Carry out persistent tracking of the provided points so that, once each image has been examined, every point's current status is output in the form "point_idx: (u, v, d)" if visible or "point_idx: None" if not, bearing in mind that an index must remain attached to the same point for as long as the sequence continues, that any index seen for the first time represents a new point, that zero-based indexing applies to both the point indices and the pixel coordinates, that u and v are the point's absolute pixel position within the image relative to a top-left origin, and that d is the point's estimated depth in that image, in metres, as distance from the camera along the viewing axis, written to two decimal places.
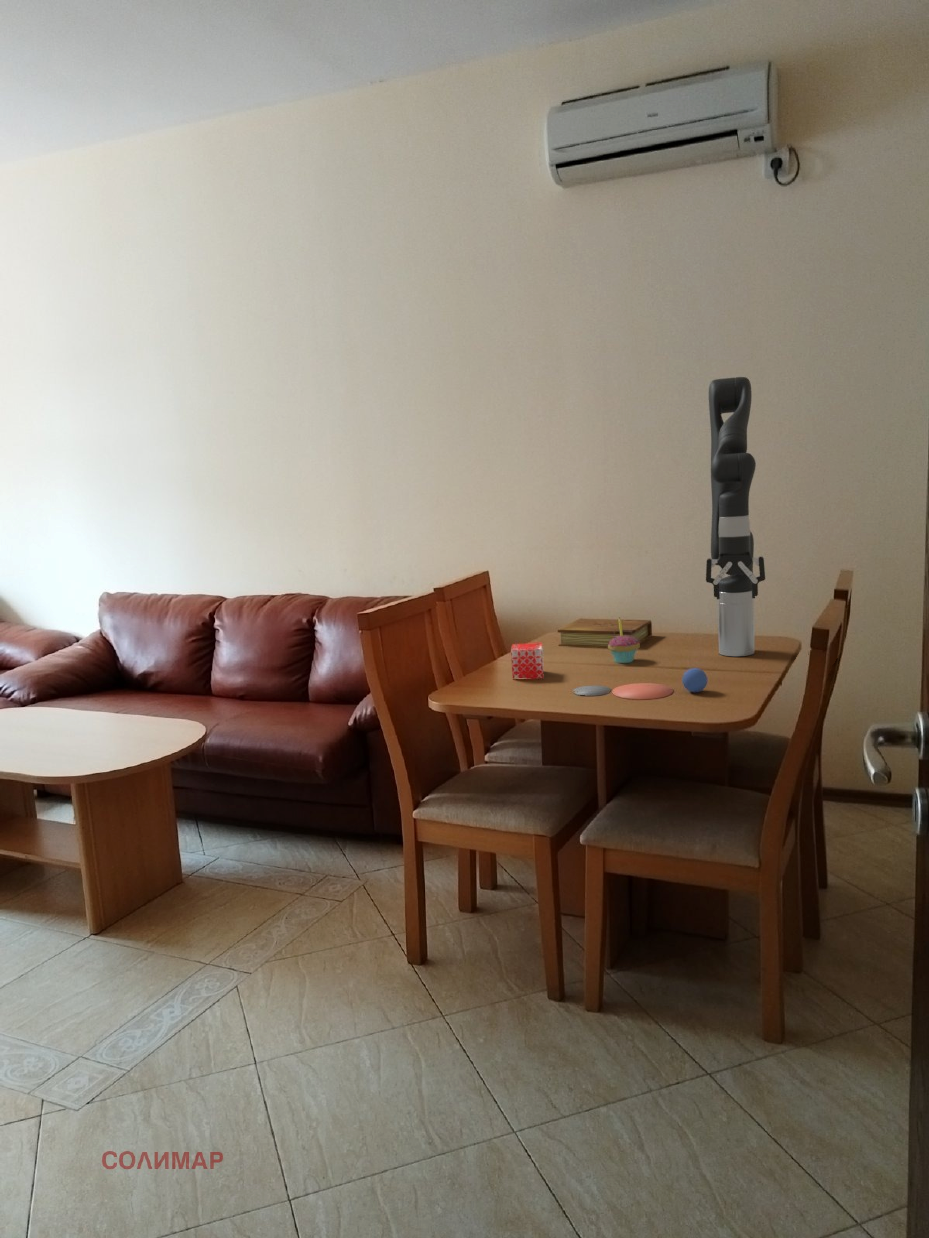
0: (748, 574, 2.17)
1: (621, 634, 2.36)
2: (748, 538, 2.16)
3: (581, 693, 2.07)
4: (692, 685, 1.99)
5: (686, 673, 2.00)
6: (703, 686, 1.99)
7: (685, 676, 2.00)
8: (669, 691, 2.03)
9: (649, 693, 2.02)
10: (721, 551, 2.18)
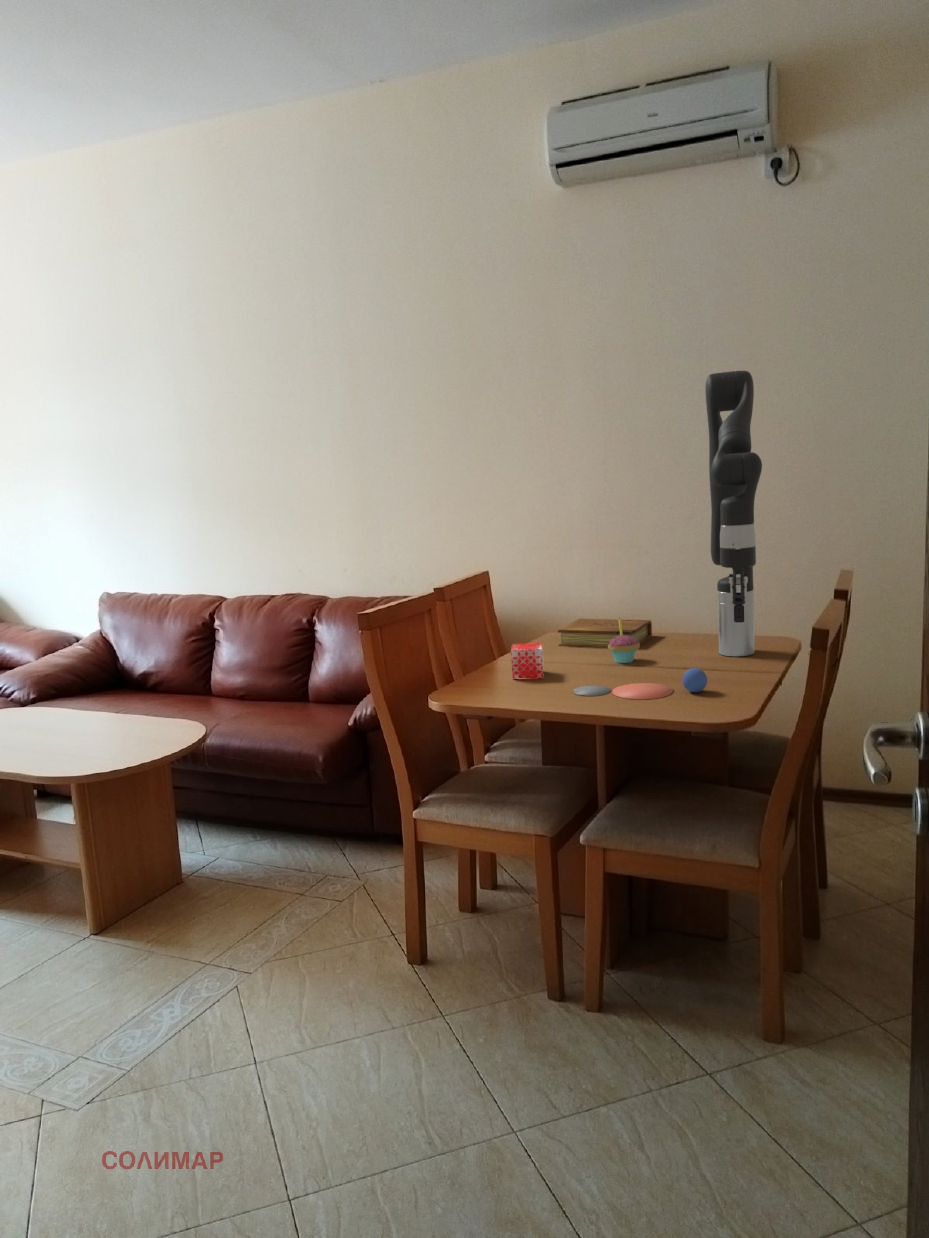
0: None
1: (621, 634, 2.36)
2: None
3: (581, 693, 2.07)
4: (692, 685, 1.99)
5: (686, 673, 2.00)
6: (703, 686, 1.99)
7: (685, 676, 2.00)
8: (669, 691, 2.03)
9: (649, 693, 2.02)
10: (747, 564, 1.90)
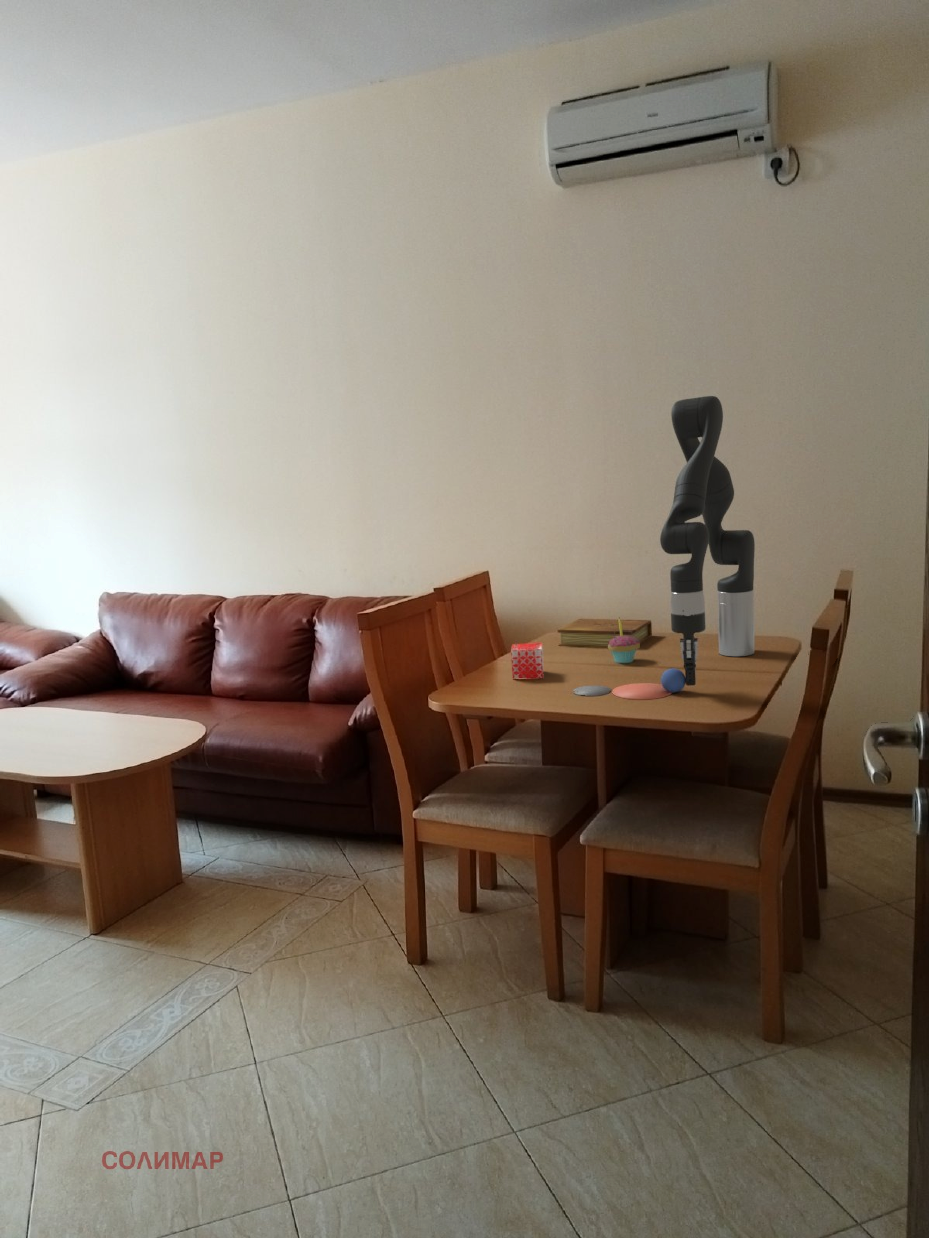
0: None
1: (621, 634, 2.36)
2: None
3: (581, 693, 2.07)
4: (674, 687, 2.00)
5: (661, 683, 2.02)
6: (681, 678, 2.00)
7: (663, 686, 2.02)
8: None
9: (649, 693, 2.02)
10: (697, 630, 1.95)
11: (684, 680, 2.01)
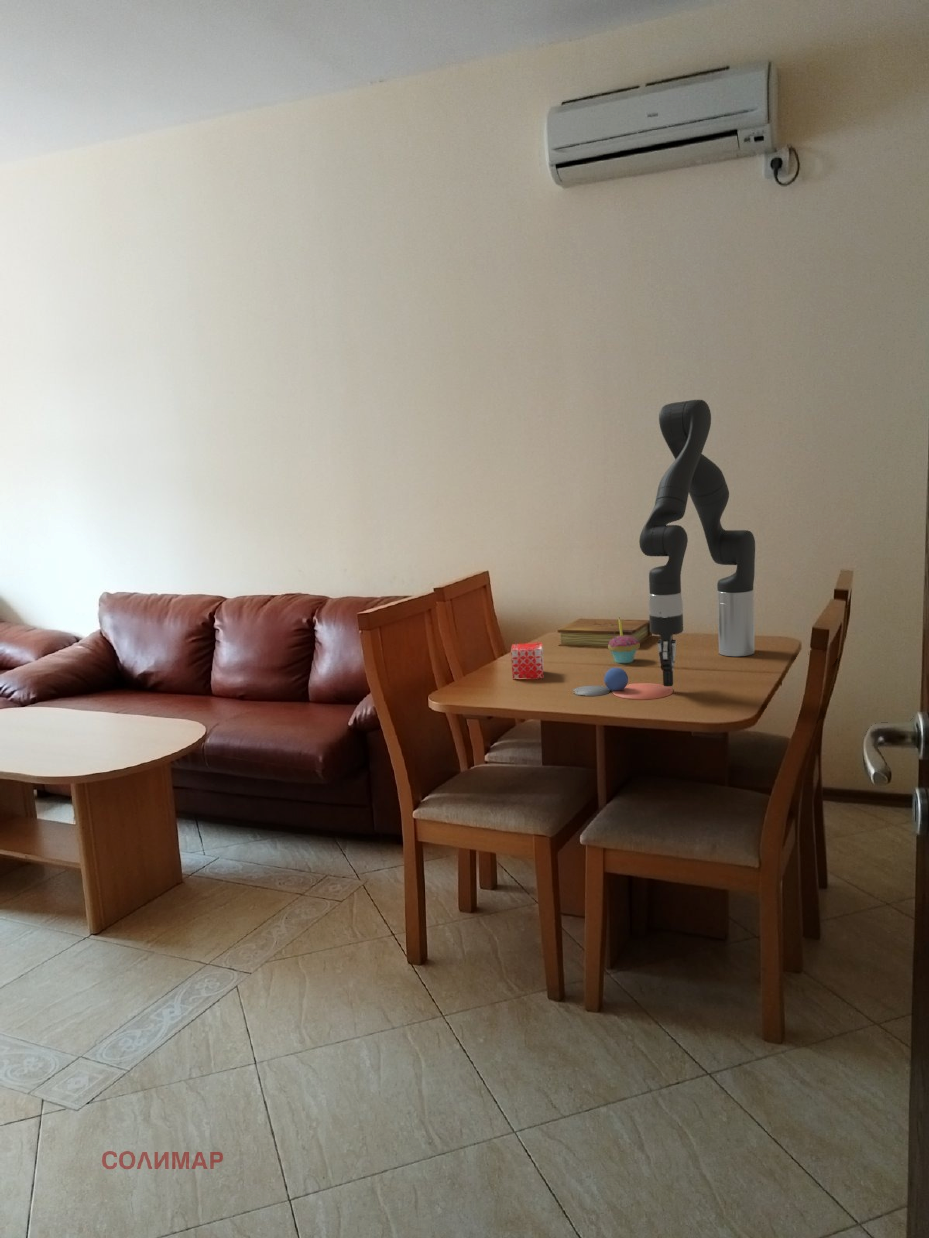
0: None
1: (621, 634, 2.36)
2: None
3: (581, 693, 2.07)
4: (608, 681, 2.05)
5: (617, 670, 2.05)
6: (613, 690, 2.06)
7: (613, 671, 2.05)
8: (669, 691, 2.03)
9: (649, 693, 2.02)
10: (674, 632, 1.97)
11: (611, 689, 2.07)
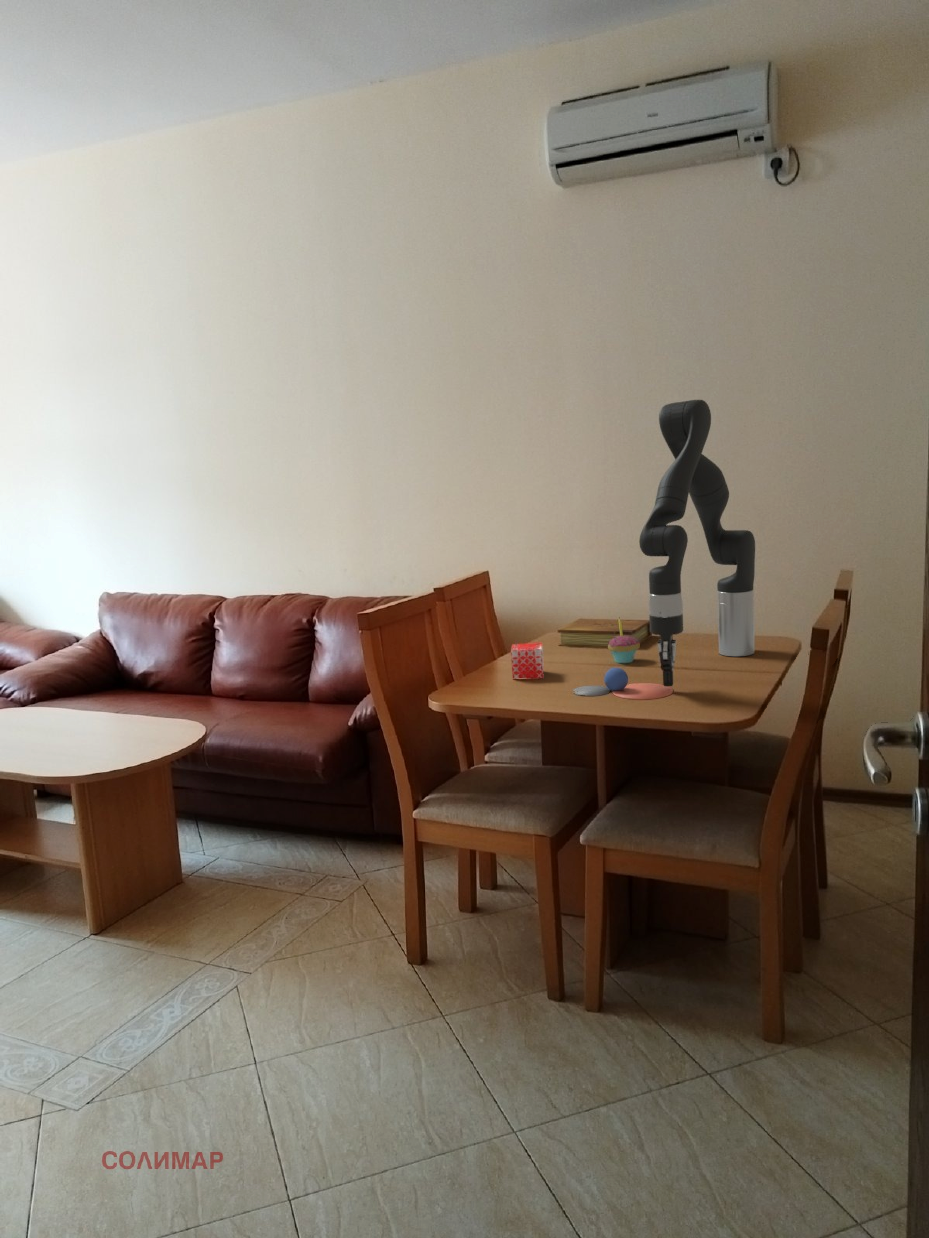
0: None
1: (621, 634, 2.36)
2: None
3: (581, 693, 2.07)
4: (608, 681, 2.05)
5: (617, 670, 2.05)
6: (613, 690, 2.06)
7: (613, 671, 2.05)
8: (669, 691, 2.03)
9: (649, 693, 2.02)
10: (674, 632, 1.97)
11: (611, 689, 2.07)
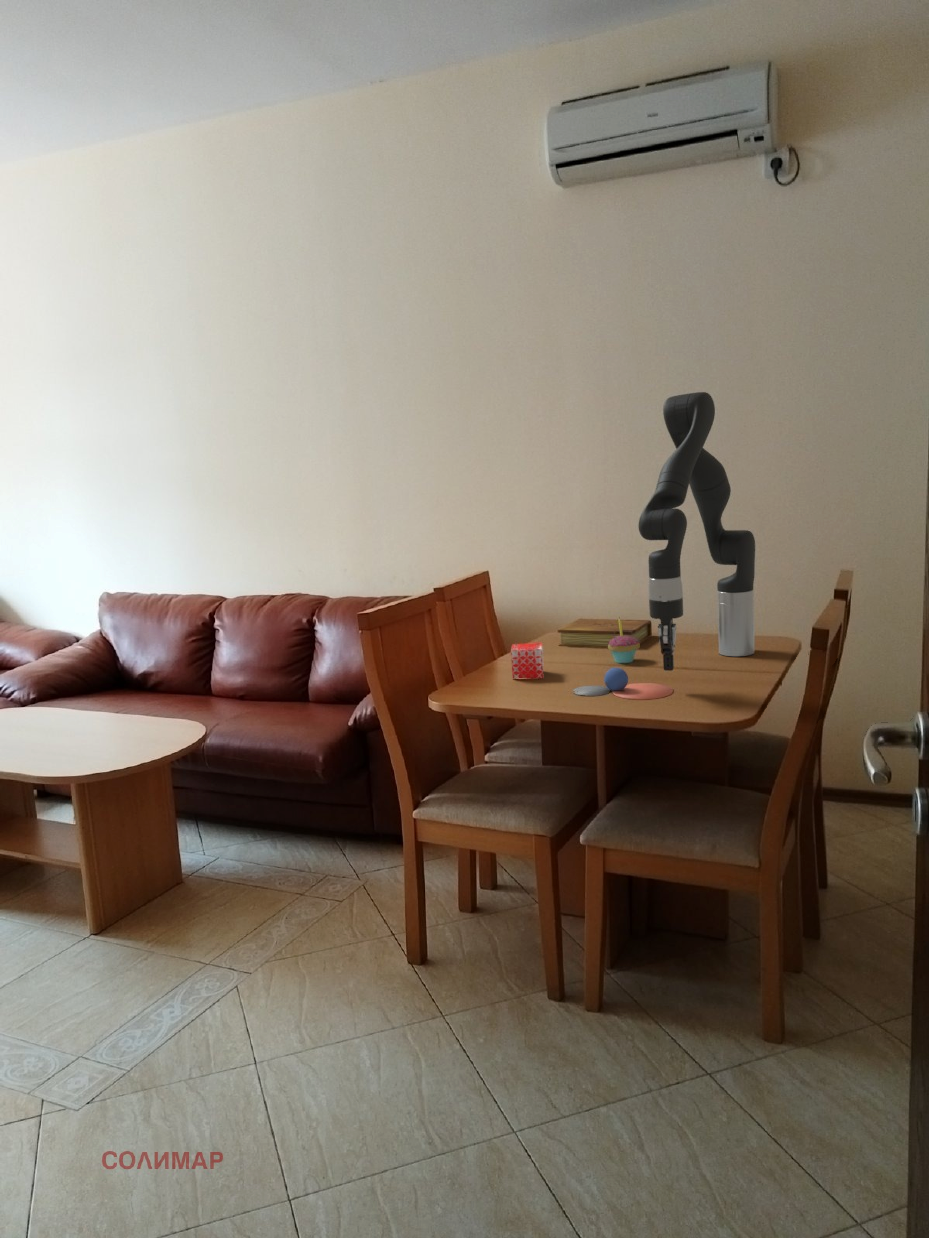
0: (675, 640, 2.02)
1: (621, 634, 2.36)
2: None
3: (581, 693, 2.07)
4: (608, 681, 2.05)
5: (617, 670, 2.05)
6: (613, 690, 2.06)
7: (613, 671, 2.05)
8: (669, 691, 2.03)
9: (649, 693, 2.02)
10: (674, 615, 1.97)
11: (611, 689, 2.07)
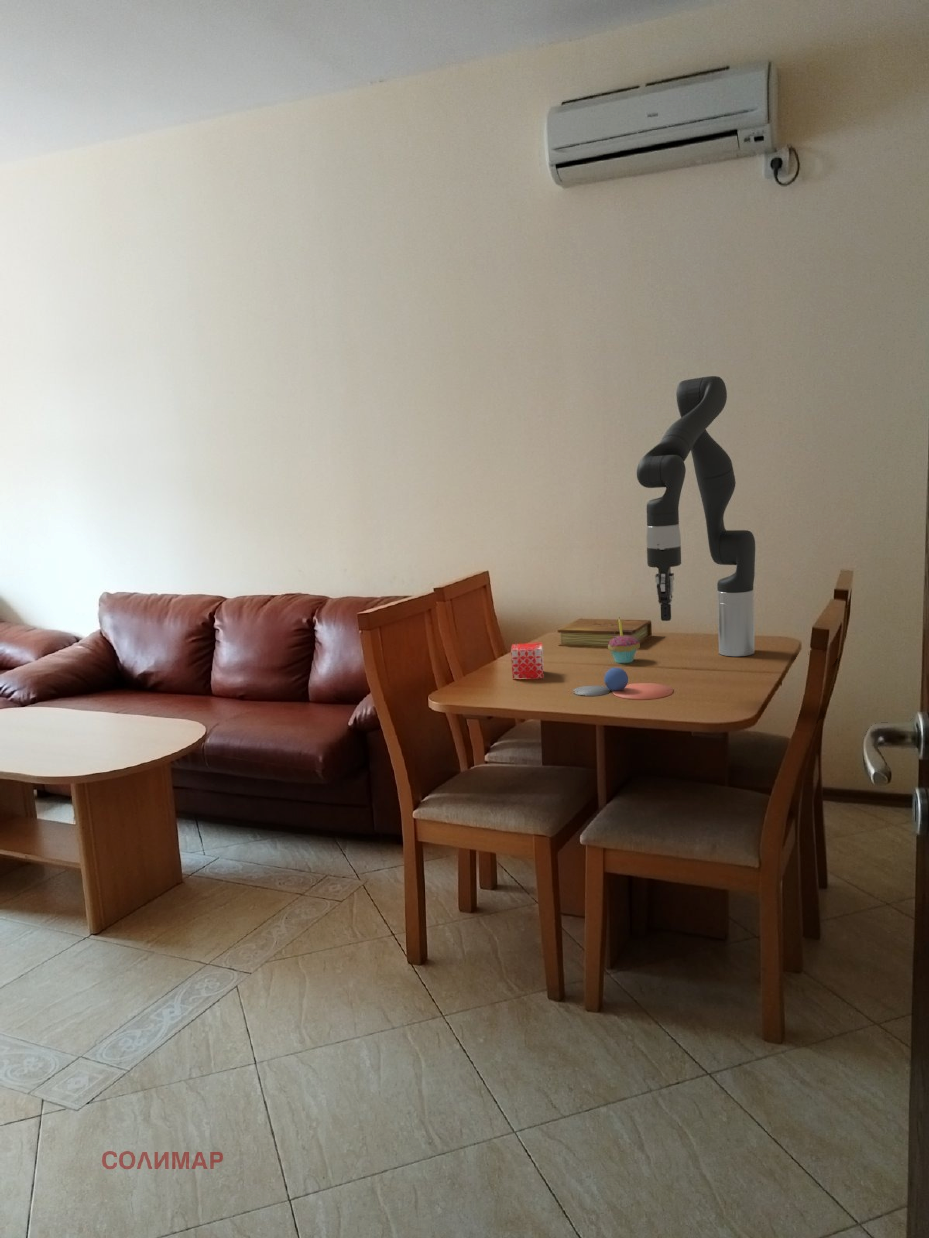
0: None
1: (621, 634, 2.36)
2: None
3: (581, 693, 2.07)
4: (608, 681, 2.05)
5: (617, 670, 2.05)
6: (613, 690, 2.06)
7: (613, 671, 2.05)
8: (669, 691, 2.03)
9: (649, 693, 2.02)
10: (672, 564, 1.95)
11: (611, 689, 2.07)
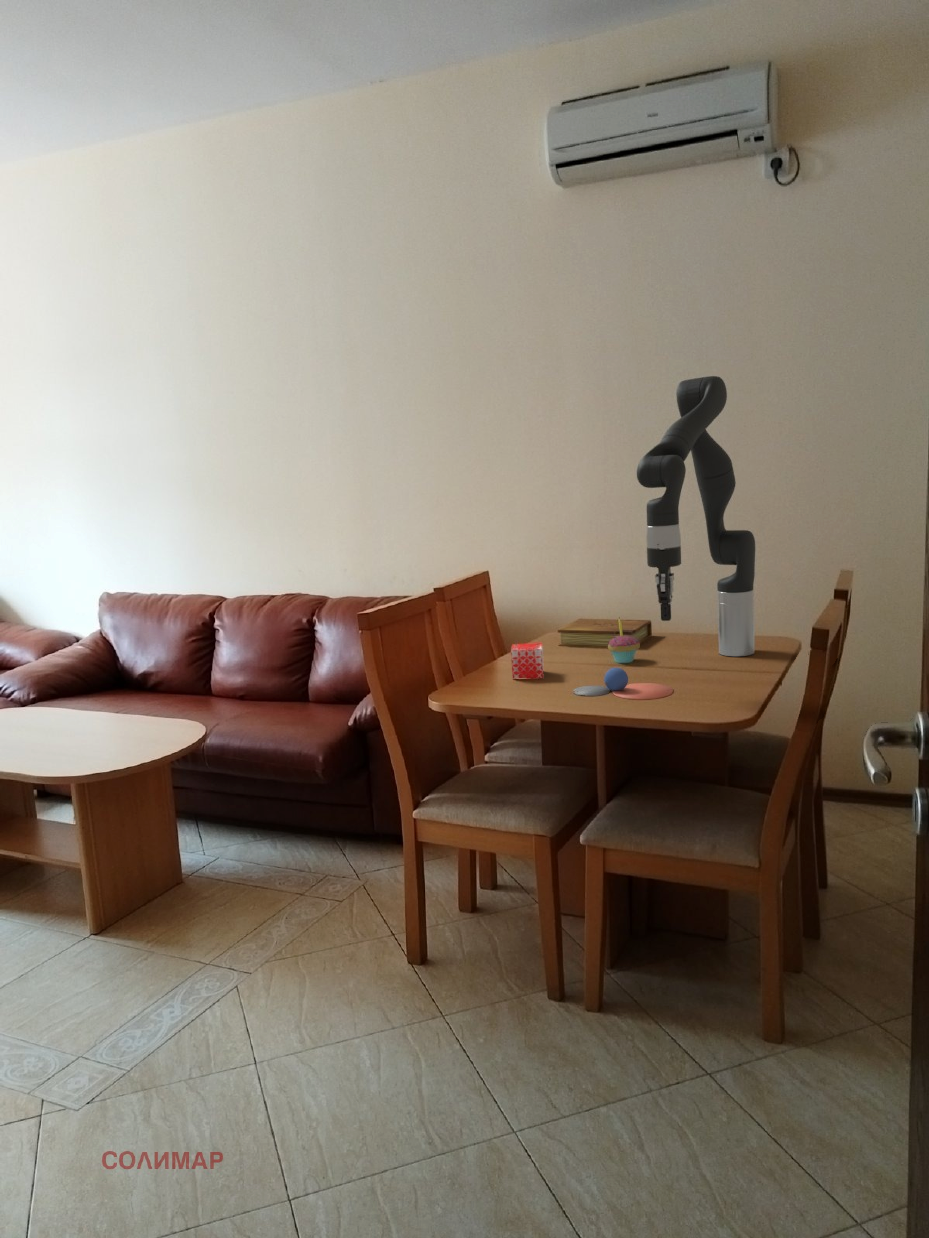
0: None
1: (621, 634, 2.36)
2: None
3: (581, 693, 2.07)
4: (608, 681, 2.05)
5: (617, 670, 2.05)
6: (613, 690, 2.06)
7: (613, 671, 2.05)
8: (669, 691, 2.03)
9: (649, 693, 2.02)
10: (672, 563, 1.95)
11: (611, 689, 2.07)
